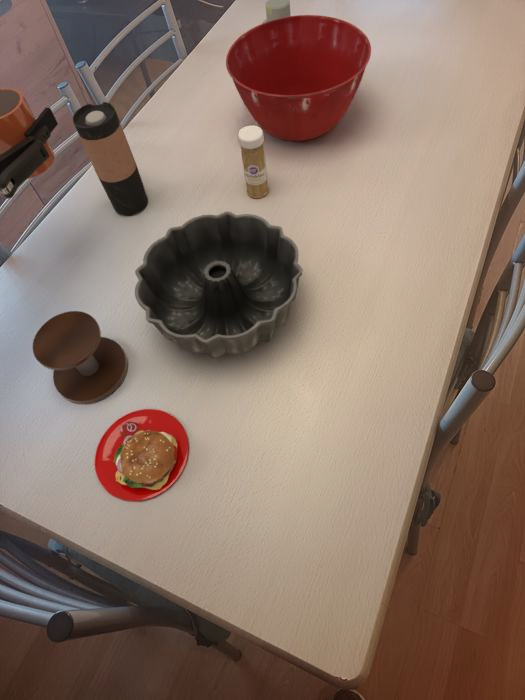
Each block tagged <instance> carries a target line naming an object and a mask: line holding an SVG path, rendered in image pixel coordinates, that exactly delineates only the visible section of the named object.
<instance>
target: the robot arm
mask: <svg viewBox="0 0 525 700" xmlns="http://www.w3.org/2000/svg"><path fill="white" fill-rule="evenodd" d="M58 125H59V123H58V121H57V118H56V117H55V115H54V113H53V111H52V109H51V107H46V106H45V107H44V109H43V110H42V111H41V113H40V114H39V115H38V116H37V117H36V120H35V121H34V122H33V124H32V125H31V126H30V127H29V128H28V130H27V131H26V132H25V133H24V135H25V137H26V138H25V139H24V140H22V141H21V142H19V143H18V144H16V145H15V146H13V147H12V148H10V149H9V150H7V151H6V152H4V153H3V154H1V155H0V194H2V195H3V196H4V197H5V199H11V198H13V197H14V196H15V194H16V192H17V190H18V188H19V187H21V185H23V184H24V182H26V180H28V179H27V178H28V177H29V176H30V175H31V174H32V173H33V172H34V171H35V170H37V169H38V168H39V167H40V166H41V165H42V164H43V163H44V162H45V161H46V160H47V159H48V158H49V157H50V155H49V153H48V151H47V149H46V148H45V146H44V144H45V142H46V141H48V140H49V139H50V138H51V135H52V133H53V131H54V130H55V129H56V127H58Z"/></svg>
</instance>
